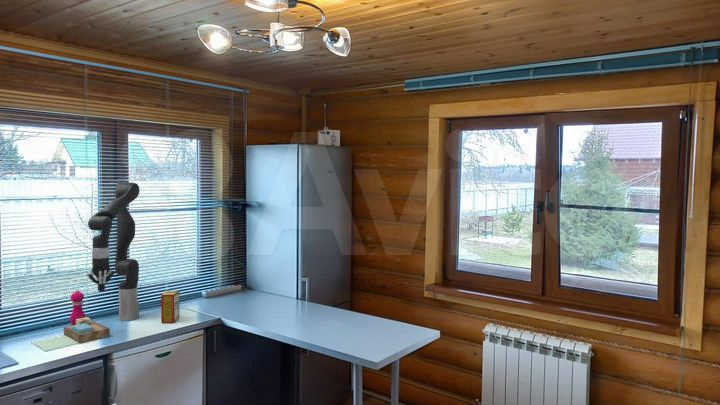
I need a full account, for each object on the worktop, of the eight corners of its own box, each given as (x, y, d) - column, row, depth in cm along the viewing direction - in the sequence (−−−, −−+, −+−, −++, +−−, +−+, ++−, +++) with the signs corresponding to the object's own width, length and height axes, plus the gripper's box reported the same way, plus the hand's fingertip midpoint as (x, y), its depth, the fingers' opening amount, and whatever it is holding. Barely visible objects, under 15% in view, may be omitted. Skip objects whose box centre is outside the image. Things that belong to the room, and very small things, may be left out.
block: (86, 322, 249) (86, 317, 249) (90, 324, 246) (90, 318, 246) (76, 325, 245) (75, 319, 245) (80, 327, 242) (80, 321, 242)
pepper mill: (71, 325, 257) (70, 288, 256) (87, 324, 260) (86, 287, 259) (68, 329, 250) (67, 291, 249) (84, 328, 253) (83, 290, 252)
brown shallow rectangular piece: (93, 328, 252) (93, 321, 252) (109, 336, 241) (109, 328, 241) (63, 335, 242) (63, 327, 241) (79, 343, 230) (78, 335, 230)
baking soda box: (173, 323, 263) (173, 294, 262) (161, 323, 263) (161, 294, 262) (179, 318, 272) (179, 290, 272) (167, 318, 272) (167, 290, 271)
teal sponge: (85, 327, 242) (85, 323, 242) (93, 330, 236) (93, 326, 236) (72, 330, 237) (72, 326, 237) (79, 333, 232) (79, 329, 232)
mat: (63, 335, 242) (63, 334, 242) (79, 343, 230) (79, 342, 230) (31, 342, 231) (31, 342, 231) (45, 351, 219) (45, 350, 219)
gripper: (111, 254, 250) (111, 287, 251) (83, 257, 239) (83, 292, 240) (117, 255, 245) (118, 290, 246) (89, 259, 235) (90, 294, 236)
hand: (101, 291), depth 243 cm, fingers closed
